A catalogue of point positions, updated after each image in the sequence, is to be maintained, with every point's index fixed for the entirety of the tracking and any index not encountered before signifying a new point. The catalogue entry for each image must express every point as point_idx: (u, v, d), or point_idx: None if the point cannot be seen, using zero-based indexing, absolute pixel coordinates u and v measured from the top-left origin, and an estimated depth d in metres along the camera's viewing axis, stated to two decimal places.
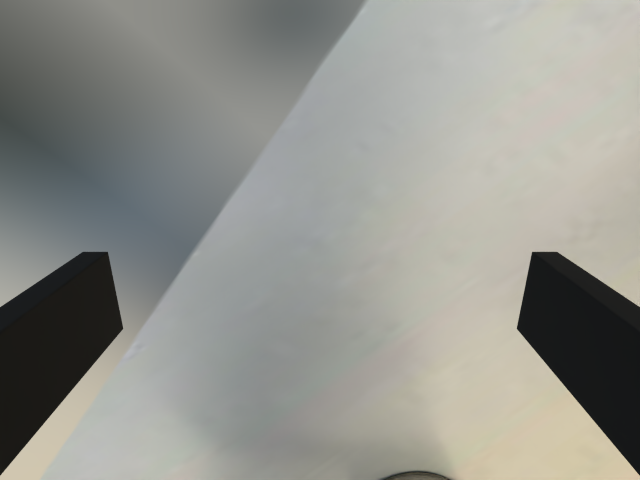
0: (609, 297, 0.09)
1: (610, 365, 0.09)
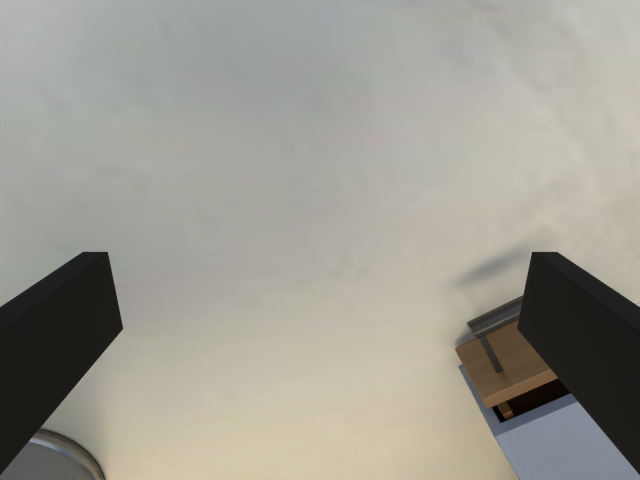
0: (609, 297, 0.09)
1: (609, 365, 0.09)
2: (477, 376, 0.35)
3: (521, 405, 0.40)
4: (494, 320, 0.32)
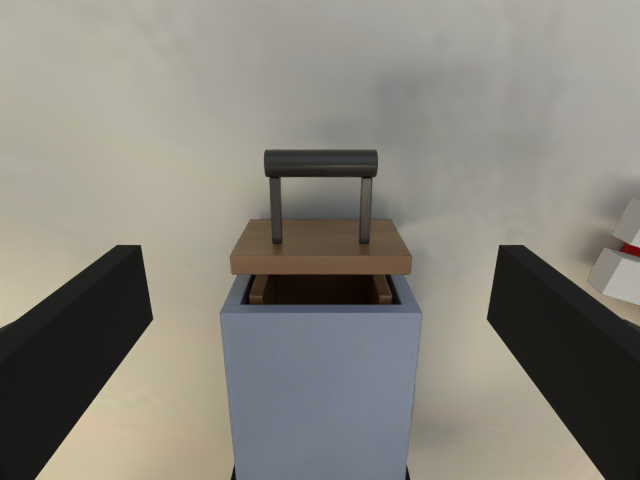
0: (563, 286, 0.10)
1: (560, 349, 0.09)
2: (248, 240, 0.25)
3: None
4: (299, 157, 0.22)
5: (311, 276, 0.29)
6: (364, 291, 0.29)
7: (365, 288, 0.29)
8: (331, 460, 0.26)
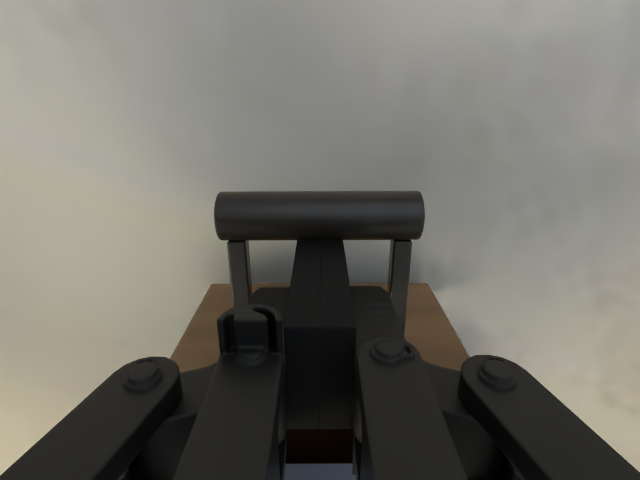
0: (333, 258, 0.12)
1: None
2: (197, 338, 0.15)
3: None
4: (279, 207, 0.12)
5: None
6: None
7: None
8: None
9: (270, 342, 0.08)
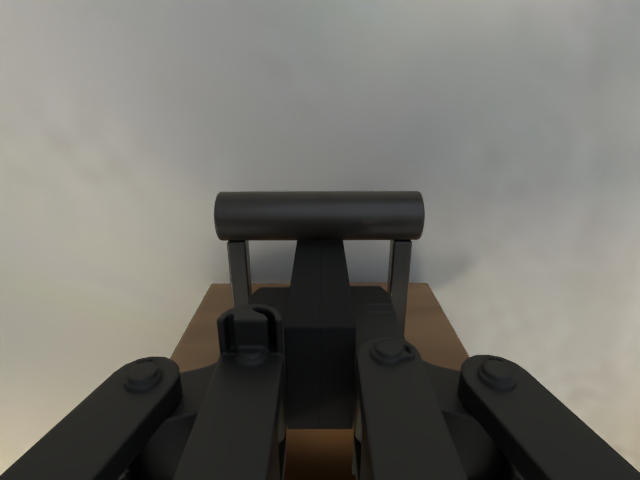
0: (333, 258, 0.12)
1: None
2: (197, 338, 0.15)
3: None
4: (279, 208, 0.12)
5: None
6: None
7: None
8: None
9: (270, 342, 0.08)
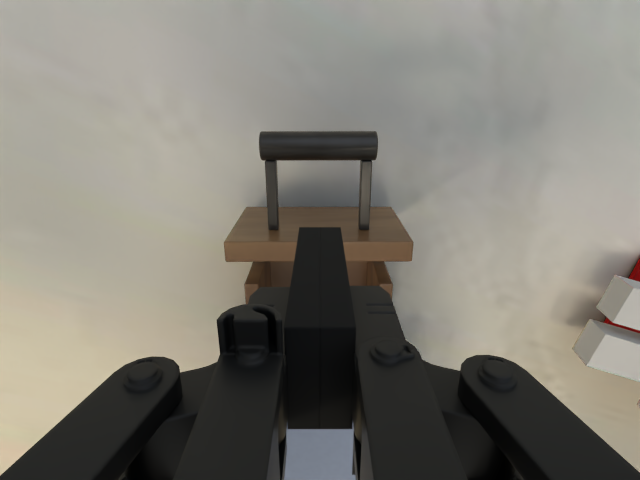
0: (333, 258, 0.12)
1: None
2: (243, 227, 0.24)
3: None
4: (295, 139, 0.21)
5: None
6: (364, 281, 0.29)
7: (365, 278, 0.29)
8: None
9: (270, 342, 0.08)
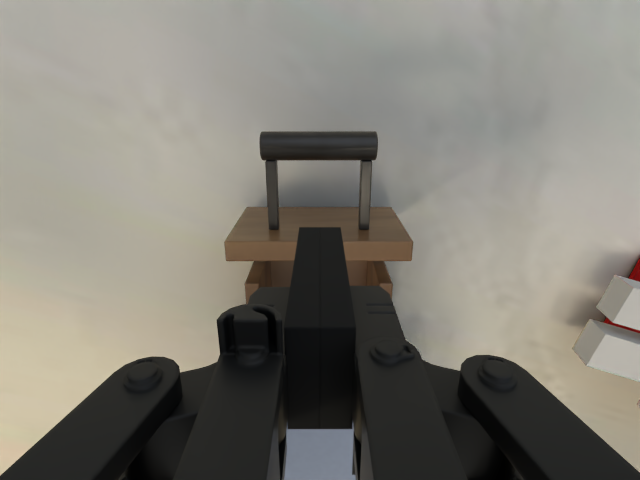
0: (333, 258, 0.12)
1: None
2: (243, 226, 0.24)
3: None
4: (296, 139, 0.21)
5: None
6: (364, 281, 0.29)
7: (365, 278, 0.29)
8: None
9: (270, 342, 0.08)
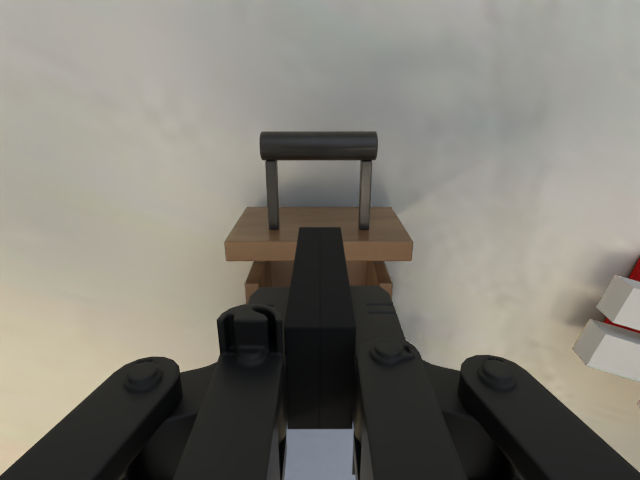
0: (333, 258, 0.12)
1: None
2: (244, 226, 0.24)
3: None
4: (296, 139, 0.21)
5: None
6: (364, 281, 0.29)
7: (365, 278, 0.29)
8: None
9: (270, 342, 0.08)
